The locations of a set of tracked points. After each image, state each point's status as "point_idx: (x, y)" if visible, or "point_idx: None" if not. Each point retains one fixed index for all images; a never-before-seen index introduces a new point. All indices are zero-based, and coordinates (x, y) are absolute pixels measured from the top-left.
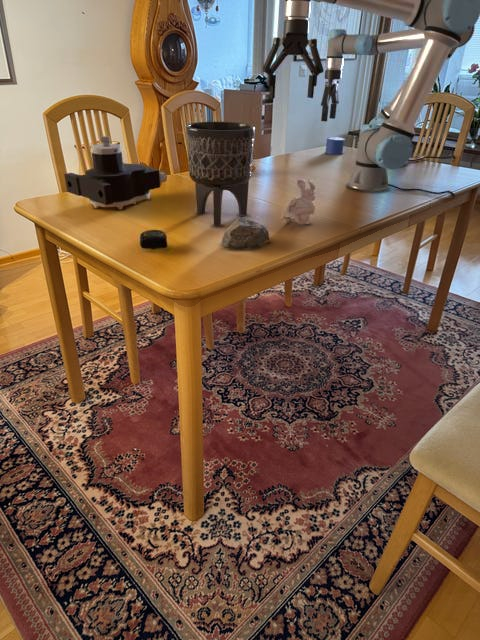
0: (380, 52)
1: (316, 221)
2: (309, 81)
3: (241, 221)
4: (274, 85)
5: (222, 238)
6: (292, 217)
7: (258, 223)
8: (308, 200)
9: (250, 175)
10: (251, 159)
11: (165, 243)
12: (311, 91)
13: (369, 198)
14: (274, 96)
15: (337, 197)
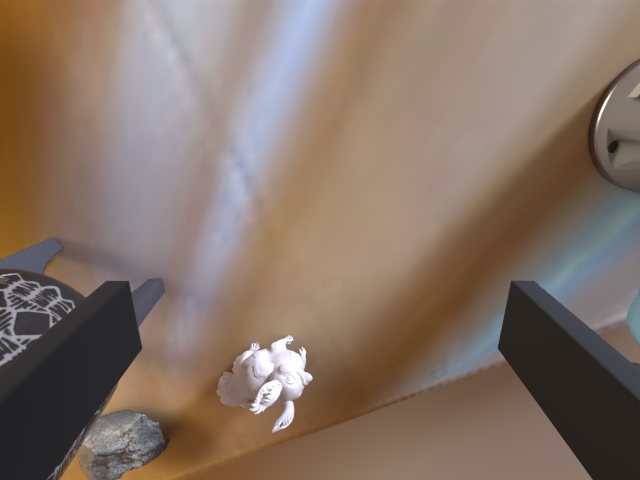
0: None
1: (309, 359)
2: (608, 399)
3: (98, 464)
4: (71, 430)
5: None
6: (231, 406)
7: (140, 448)
8: (275, 404)
9: (110, 398)
10: (85, 438)
11: None
12: (526, 382)
13: (557, 237)
14: (133, 356)
15: (476, 204)
